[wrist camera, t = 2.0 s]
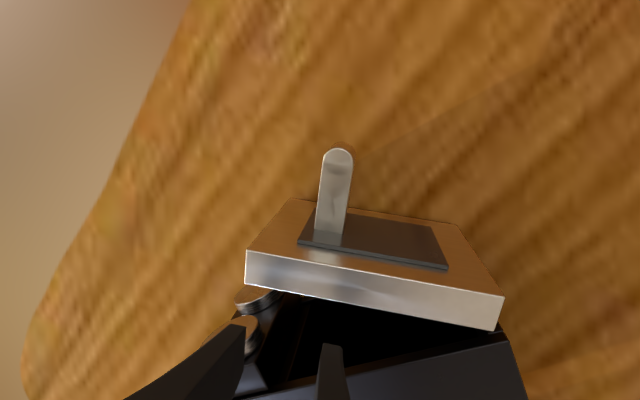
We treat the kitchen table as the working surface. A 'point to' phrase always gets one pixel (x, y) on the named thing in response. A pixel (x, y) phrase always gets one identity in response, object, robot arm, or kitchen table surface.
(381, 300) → the door
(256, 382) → the microwave
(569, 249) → the kitchen table surface
